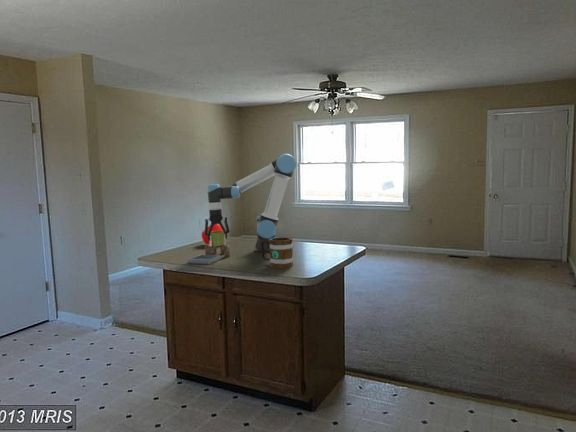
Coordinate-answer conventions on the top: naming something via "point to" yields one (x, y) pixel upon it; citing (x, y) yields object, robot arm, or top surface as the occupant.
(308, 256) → the top surface
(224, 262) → the top surface
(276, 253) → the mug
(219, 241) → the plant pot
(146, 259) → the top surface
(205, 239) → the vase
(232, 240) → the top surface
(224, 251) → the posts
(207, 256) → the tray
